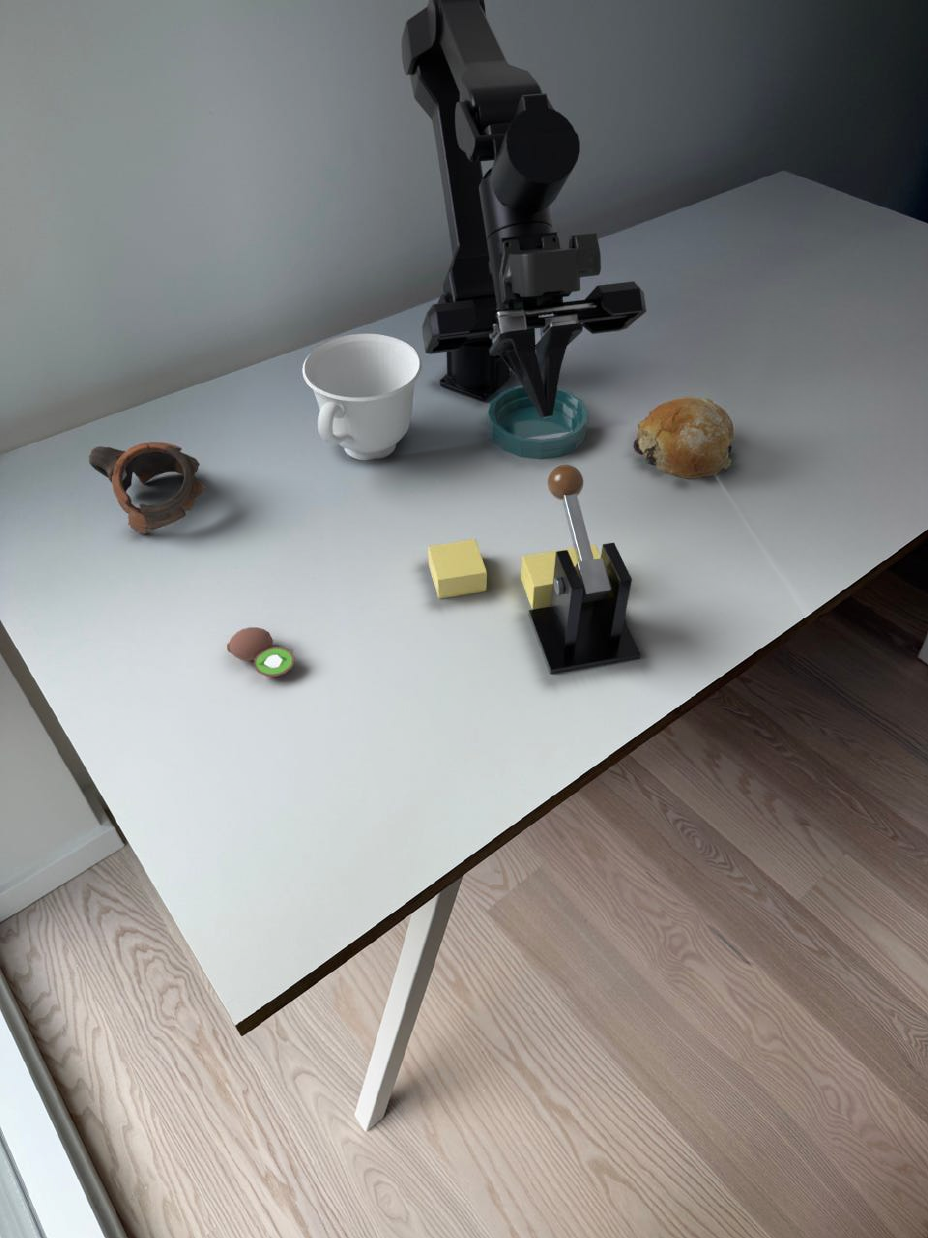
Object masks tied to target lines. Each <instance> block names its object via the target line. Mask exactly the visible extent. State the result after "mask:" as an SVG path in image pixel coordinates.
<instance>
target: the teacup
mask: <svg viewBox="0 0 928 1238" xmlns="http://www.w3.org/2000/svg"><path fill="white" fill-rule="evenodd" d="M422 369H423V363H422V359H421V356H420V355H419V353H418V352H417V350H415V349H414V348H413V346H411V345H410V344H408V343H406V342H405V341H403V340H401V339H399V338H396V337H392V336H389V335H385V334H384V335H383V334H378V333H355V334H349V335H348V334H347V335H344V336H340V337H339V336H338V337H336V338H333V339H330V340H328V341H326V342H324V343H322V344H320V345H319V346H317V347H316V348H314V349H313V350H312V351H311V352H310V353H308V355H307V357H306V359H305V360H304V362H303V364H302V371H301V372H302V376H303V379H304V381H305V383H306V384H307V386H309V387H310V388H311V389H312V390H313V392H314V395H315V398H316V402H317V405H318V408H319V409H318V410H319V414H318V418H317V428H318V429H317V430H318V434H319V436H320V438H321V439H322V440H323V441H324V442H325V443H328V444H330V445H339V446H341V448H343V449H344V451H345V453H346V454H347V455H348V456H349V457H351V458H353V459H356V460H358V461H370V460H378V459H383V458H387V457H388V456H390V455H391V454H392V453H394V451H395V449H396V448H397V443H398V442H400V441H401V440H402V439H403V438H404V437H405V435H406V434H407V432H408V429H409V426H410V424H411V419H412V412H413V401H414V390H415V389H414V388H415V382H416V381H417V380H418V379H419V377H420V376H421V373H422Z"/></svg>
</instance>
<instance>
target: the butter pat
mask: <svg viewBox="0 0 928 1238" xmlns="http://www.w3.org/2000/svg"><path fill="white" fill-rule="evenodd" d="M427 551H428V567H429V570H430V574H431V577H432V581H433V585H434V587H435V592H436V595H437V598H438V599H444V598H451V597H458V596H464V595H471V594H476V593H482V592H483V593H484V592H487V587H488V586H487V585H488V581H487V580H488V571H487V567H486V566H485V563H484V560H483V556H482V553H481V551H480V548H479V545H478V542H477V539H476V538H472V539H467V540H466V539H465V540H459V541H454V542H447V543H440V544H434V545H428V546H427Z"/></svg>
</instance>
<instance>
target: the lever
mask: <svg viewBox="0 0 928 1238" xmlns="http://www.w3.org/2000/svg"><path fill="white" fill-rule="evenodd" d="M547 487H548V490H549V493H550V494H551V495H552V496H553V497H554V498H555V499H557V500H558V501H559V500H560V501H561V503H562V506H563V510H564V513H565V518H566V521H567V525H568V529H569V533H570V536H571V541H572V544H573V548H575V552H576V556H577V560H578V562H577V564H576V566H575V568H576V571H577V573H578V575H579V578H580V580H581V582H582V585H583V587H584V589H583V596H582V603H585V602H591V601H597V600H603V599H605V598H606V596H607V595H608V593H609V592H610V591H611V586H610V582H609V578H608V575H607V571H606V567H605V564H604V560H603V558H600V559H594V558H593V554H592V550H591V547H590V545H591V544H590V539H589V535H588V532H587V529H586V525H585V521H584V516H583V512H582V509H581V506H580V502H579V498H578V496H579V495H580V494H581V492H582V490H583V487H584V476H583V475H582V473H581V471H580V470H579V469H578V468H577V467H575V466H574V465H571V464H562V465H558V466H556V467H555V468H554V469H553V470H552V471H551V472H550V473H549V476H548V479H547Z"/></svg>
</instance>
